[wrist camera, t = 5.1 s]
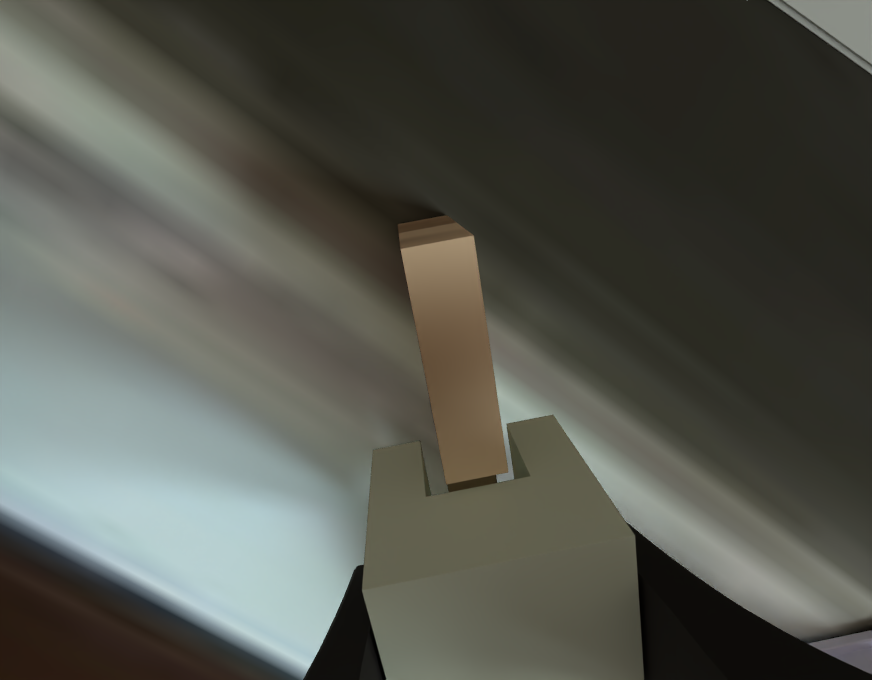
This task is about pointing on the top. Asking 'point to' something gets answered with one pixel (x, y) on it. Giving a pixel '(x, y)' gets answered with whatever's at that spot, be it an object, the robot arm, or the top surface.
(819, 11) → the metal bracket
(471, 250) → the notched rail
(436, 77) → the top surface
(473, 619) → the slotted block
